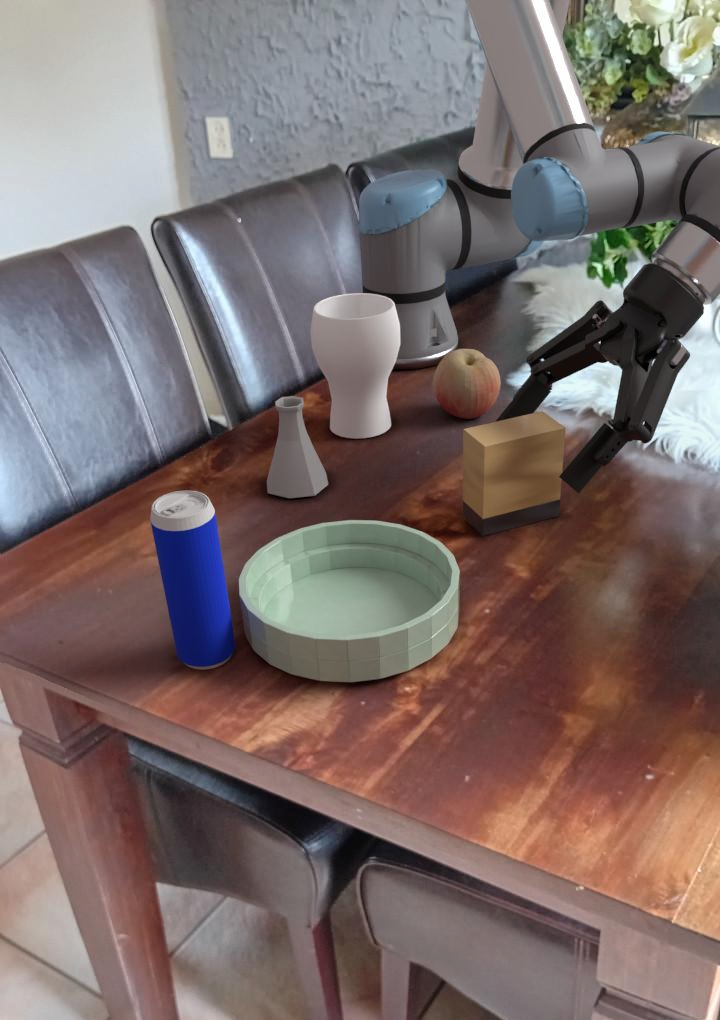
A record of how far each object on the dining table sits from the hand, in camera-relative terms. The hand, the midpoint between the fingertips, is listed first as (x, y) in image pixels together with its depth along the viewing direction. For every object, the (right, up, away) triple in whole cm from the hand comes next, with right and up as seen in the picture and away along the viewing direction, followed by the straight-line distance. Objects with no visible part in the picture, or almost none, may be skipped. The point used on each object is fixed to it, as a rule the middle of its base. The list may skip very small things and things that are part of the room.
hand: (533, 457), depth 102 cm
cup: (-18, +8, +23) cm, 30 cm away
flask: (-25, -1, +11) cm, 27 cm away
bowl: (-18, -17, -11) cm, 27 cm away
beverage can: (-31, -20, -14) cm, 40 cm away
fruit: (-4, +10, +25) cm, 27 cm away
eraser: (-2, -6, +3) cm, 7 cm away
